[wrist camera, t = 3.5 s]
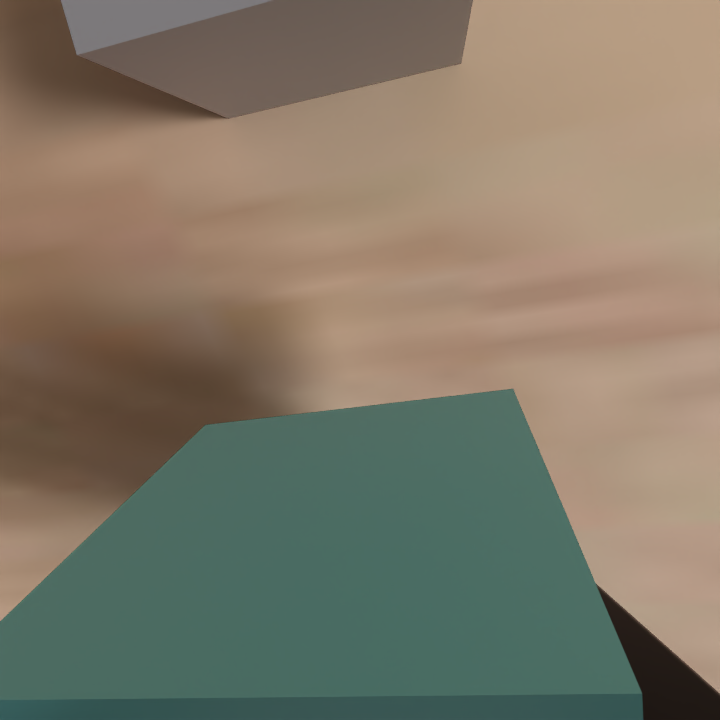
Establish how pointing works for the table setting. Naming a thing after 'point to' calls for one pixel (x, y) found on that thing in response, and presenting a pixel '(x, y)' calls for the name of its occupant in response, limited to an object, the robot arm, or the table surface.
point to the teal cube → (329, 582)
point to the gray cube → (266, 45)
